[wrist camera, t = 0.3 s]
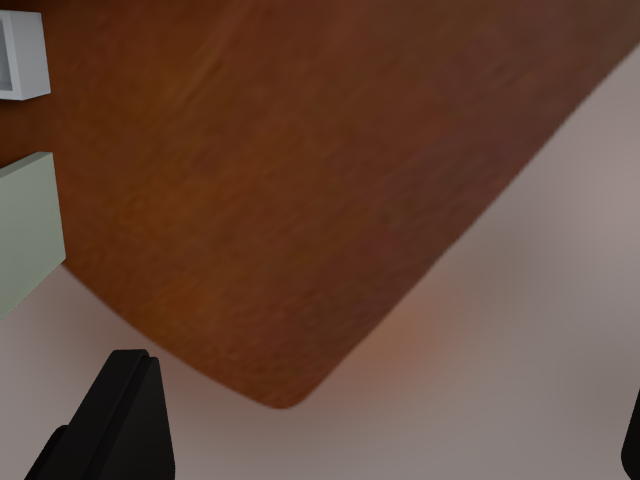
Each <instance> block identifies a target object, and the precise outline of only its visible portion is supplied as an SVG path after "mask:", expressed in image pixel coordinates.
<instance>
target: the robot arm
mask: <svg viewBox="0 0 640 480" xmlns="http://www.w3.org/2000/svg"><path fill="white" fill-rule="evenodd" d="M621 460H622V465H623V467H624V470H625V472H626V473H627V475H628V476H629V477H630V479H631V480H640V390H639V393H638V396H637V400H636V403H635V407H634V410H633V413H632V417H631V420H630V424H629V427H628V431H627V434H626V437H625V441H624V444H623V448H622V451H621ZM24 480H175V461H174V454H173V448H172V442H171V435H170V429H169V423H168V416H167V409H166V403H165V396H164V390H163V384H162V377H161V371H160V365H159V360H158V358H157V357H149V353H148V352H147V350H145V349H138V350H137V349H133V350H114V351H113V352H112V353H111V354H110V356H109V357H108V359H107V361H106V363H105V364H104V366H103V368H102V369H101V371H100V373H99V374H98V376H97V378H96V379H95V381H94V383H93V384H92V386H91V388H90V389H89V391H88V393H87V394H86V396H85V398H84V399H83V401H82V403H81V404H80V406H79V408H78V410H77V411H76V413H75V415H74V416H73V418H72V420H71V421H70V423H69V425H62V426H60V427H59V428H57V429H56V430H55V432H54V433H53V434H52V435H51V437H50V439H49V440H48V442H47V443H46V445H45V447H44V449H43V450H42V452H41V453H40V455H39V457H38V458H37V460H36V461H35V463H34V465H33V466H32V468H31V469H30V471H29V472H28V474H27V476H26V477H25V479H24Z"/></svg>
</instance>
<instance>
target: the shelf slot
mask: <svg viewBox="0 0 640 480" xmlns="http://www.w3.org/2000/svg"><path fill="white" fill-rule="evenodd" d="M65 258H66V256H65V248H64V240H63V233H62V225H61V217H60V209H59V202H58V194H57V186H56V178H55V171H54V163H53V155H52V153H51V152H36V153H34V154H32V155H30V156H27V157H25V158H23V159H21V160H19V161H17V162H15V163H13V164H10V165H8V166H6V167H4V168H2V169H0V322H1V321H2V320H3V319H4V318H5V317H6V316H7V315H8V314H9V313H10V312H11V311H12V310H13V309H14V308H15V307H16V306H17V305H18V304H19V303H20V302H21V301H22V300H23V299H24V298H25V297H26V296H27V295H28V294H29V293H30V292H32V291H33V290H34V288H35V287H37V286H38V285H39V284H40V283H41V282H42V281H43V280H44V279H45V278H46V277H47V276H48V275H49V274H50V273H51V272H52V271H53V270H54V269H55V268H56V267H57V266H58V265H59V264H60V263H61V262H62V261H63V260H64V259H65Z"/></svg>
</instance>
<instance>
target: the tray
mask: <svg viewBox="0 0 640 480" xmlns="http://www.w3.org/2000/svg"><path fill="white" fill-rule="evenodd" d="M48 93H51V91H50V83H49V75H48V67H47V59H46V51H45V43H44V35H43V26H42V18H41V13H36V12H24V11H12V10H0V99H13V100H25V99H29V98H33V97H37V96H41V95H45V94H48Z"/></svg>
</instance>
